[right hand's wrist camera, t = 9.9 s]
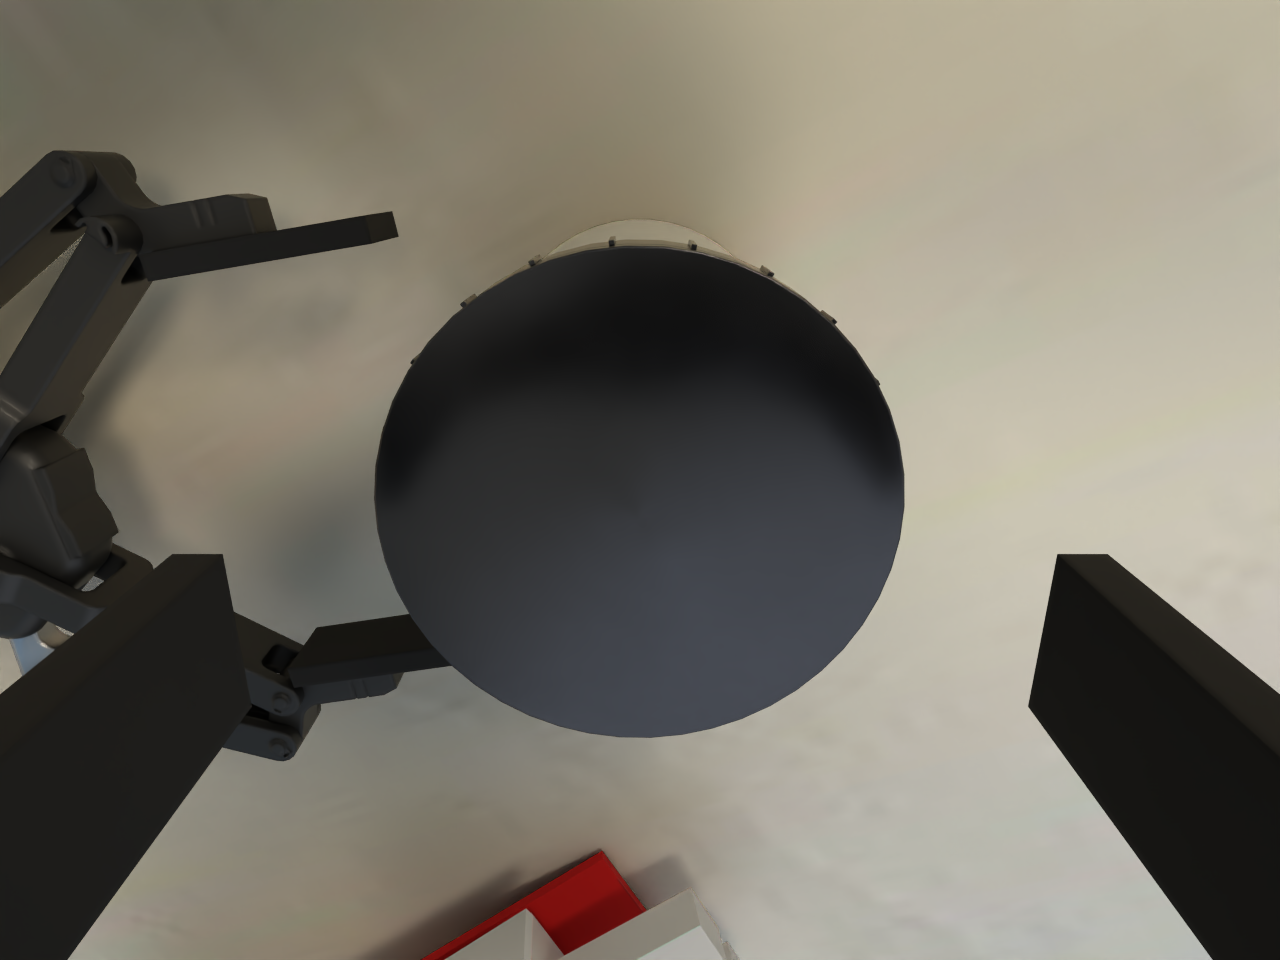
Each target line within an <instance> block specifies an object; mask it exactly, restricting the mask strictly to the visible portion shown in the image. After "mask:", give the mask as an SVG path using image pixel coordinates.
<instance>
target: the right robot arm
mask: <svg viewBox="0 0 1280 960" xmlns="http://www.w3.org/2000/svg"><path fill="white" fill-rule="evenodd" d="M251 707H252V705H251V700H250V695H249V689H248V684H247V679H246V674H245V668H244V663H243V658H242V653H241V648H240V642H239V637H238V632H237V627H236V622H235V616H234V611H233V606H232V601H231V596H230V590H229V585H228V580H227V575H226V570H225V564H224V559H223V554H172V555H171V556H170V557H168V558H167V559H166V560H165V561H163V562H162V563H161V564H160V565H159V566H157V567H156V568H155V569H154V570H152V571H151V572H150V573H149V574H148V575H146V576H145V577H144V578H143V579H141V580H140V581H139V582H138V583H136V584H135V585H134V586H133V587H132V588H130V589H129V590H128V591H127V592H125V593H124V594H123V595H122V596H120V597H119V598H118V599H117V600H116V601H114V602H113V603H112V604H111V605H109V606H108V607H107V608H106V609H105V610H103V611H102V612H101V613H100V614H98V615H97V616H96V617H95V618H93V619H92V620H91V621H90V622H89V623H87V624H86V625H85V626H84V627H82V628H81V629H80V630H79V631H77V632H76V633H75V634H74V635H73V636H71V637H70V638H69V639H68V640H66V641H65V642H64V643H63V644H62V645H60V646H59V647H58V648H57V649H55V650H54V651H53V652H52V653H50V654H49V655H48V656H47V657H46V658H44V659H43V660H42V661H41V662H39V663H38V664H37V665H36V666H34V667H33V668H32V669H31V670H30V671H28V672H27V673H26V674H25V675H23V676H22V677H21V678H20V679H19V680H17V681H16V682H15V683H14V684H12V685H11V686H10V687H9V688H7V689H6V690H5V691H4V692H3V693H1V694H0V960H67V959H68V958H69V957H70V955H71V954H72V953H73V951H74V950H75V949H76V947H77V946H78V944H79V943H80V942H81V940H82V939H83V938H84V936H85V935H86V933H87V932H88V931H89V929H90V928H91V927H92V925H93V924H94V922H95V921H96V920H97V918H98V917H99V916H100V914H101V913H102V911H103V910H104V909H105V907H106V906H107V905H108V903H109V902H110V900H111V899H112V898H113V896H114V895H115V894H116V892H117V891H118V889H119V888H120V887H121V885H122V884H123V883H124V881H125V880H126V879H127V877H128V876H129V874H130V873H131V872H132V870H133V869H134V868H135V866H136V865H137V863H138V862H139V861H140V859H141V858H142V857H143V855H144V854H145V852H146V851H147V850H148V848H149V847H150V846H151V844H152V843H153V841H154V840H155V839H156V837H157V836H158V835H159V833H160V832H161V830H162V829H163V828H164V826H165V825H166V824H167V822H168V821H169V819H170V818H171V817H172V815H173V814H174V813H175V811H176V810H177V809H178V807H179V806H180V804H181V803H182V802H183V800H184V799H185V798H186V796H187V795H188V793H189V792H190V791H191V789H192V788H193V787H194V785H195V784H196V782H197V781H198V780H199V778H200V777H201V776H202V774H203V773H204V771H205V770H206V769H207V767H208V766H209V765H210V763H211V762H212V760H213V759H214V758H215V756H216V755H217V754H218V752H219V751H220V749H221V748H222V747H223V745H224V744H225V743H226V741H227V740H228V738H229V737H230V736H231V734H232V733H233V732H234V730H235V729H236V728H237V726H238V725H239V723H240V722H241V721H242V719H243V718H244V717H245V715H246V714H247V712H248V711H249V710H250V708H251ZM1028 707H1029V708H1030V710H1031V711H1032V712H1033V714H1034V715H1035V717H1036V718H1037V719H1038V721H1039V722H1040V723H1041V725H1042V726H1043V728H1044V729H1045V730H1046V732H1047V733H1048V734H1049V736H1050V737H1051V739H1052V740H1053V741H1054V743H1055V744H1056V745H1057V747H1058V748H1059V749H1060V751H1061V752H1062V754H1063V755H1064V756H1065V758H1066V759H1067V760H1068V762H1069V763H1070V765H1071V766H1072V767H1073V769H1074V770H1075V771H1076V773H1077V774H1078V776H1079V777H1080V778H1081V780H1082V781H1083V782H1084V784H1085V785H1086V787H1087V788H1088V789H1089V791H1090V792H1091V793H1092V795H1093V796H1094V798H1095V799H1096V800H1097V802H1098V803H1099V804H1100V806H1101V807H1102V809H1103V810H1104V811H1105V813H1106V814H1107V815H1108V817H1109V818H1110V819H1111V821H1112V822H1113V824H1114V825H1115V826H1116V828H1117V829H1118V830H1119V832H1120V833H1121V835H1122V836H1123V837H1124V839H1125V840H1126V841H1127V843H1128V844H1129V846H1130V847H1131V848H1132V850H1133V851H1134V852H1135V854H1136V855H1137V857H1138V858H1139V859H1140V861H1141V862H1142V863H1143V865H1144V866H1145V868H1146V869H1147V870H1148V872H1149V873H1150V874H1151V876H1152V877H1153V879H1154V880H1155V881H1156V883H1157V884H1158V885H1159V887H1160V888H1161V889H1162V891H1163V892H1164V894H1165V895H1166V896H1167V898H1168V899H1169V900H1170V902H1171V903H1172V905H1173V906H1174V907H1175V909H1176V910H1177V911H1178V913H1179V914H1180V916H1181V917H1182V918H1183V920H1184V921H1185V922H1186V924H1187V925H1188V927H1189V928H1190V929H1191V931H1192V932H1193V933H1194V935H1195V936H1196V938H1197V939H1198V940H1199V942H1200V943H1201V944H1202V946H1203V947H1204V949H1205V950H1206V951H1207V953H1208V954H1209V955H1210V957H1211V958H1212V959H1213V960H1280V694H1279V693H1277V692H1276V691H1275V690H1274V689H1273V688H1271V687H1270V686H1269V685H1268V684H1266V683H1265V682H1264V681H1263V680H1261V679H1260V678H1259V677H1258V676H1257V675H1255V674H1254V673H1253V672H1252V671H1250V670H1249V669H1248V668H1247V667H1246V666H1244V665H1243V664H1242V663H1241V662H1239V661H1238V660H1237V659H1236V658H1234V657H1233V656H1232V655H1231V654H1230V653H1228V652H1227V651H1226V650H1225V649H1223V648H1222V647H1221V646H1220V645H1218V644H1217V643H1216V642H1215V641H1214V640H1212V639H1211V638H1210V637H1209V636H1207V635H1206V634H1205V633H1204V632H1203V631H1201V630H1200V629H1199V628H1198V627H1196V626H1195V625H1194V624H1193V623H1191V622H1190V621H1189V620H1188V619H1187V618H1185V617H1184V616H1183V615H1182V614H1180V613H1179V612H1178V611H1177V610H1175V609H1174V608H1173V607H1172V606H1171V605H1169V604H1168V603H1167V602H1166V601H1164V600H1163V599H1162V598H1161V597H1160V596H1158V595H1157V594H1156V593H1155V592H1153V591H1152V590H1151V589H1150V588H1148V587H1147V586H1146V585H1145V584H1144V583H1142V582H1141V581H1140V580H1139V579H1137V578H1136V577H1135V576H1134V575H1132V574H1131V573H1130V572H1129V571H1128V570H1126V569H1125V568H1124V567H1123V566H1121V565H1120V564H1119V563H1118V562H1117V561H1115V560H1114V559H1113V558H1112V557H1110V556H1109V555H1108V554H1057V559H1056V564H1055V570H1054V575H1053V580H1052V585H1051V590H1050V596H1049V601H1048V606H1047V611H1046V616H1045V622H1044V627H1043V632H1042V637H1041V642H1040V648H1039V653H1038V658H1037V663H1036V668H1035V674H1034V679H1033V684H1032V689H1031V695H1030V700H1029V705H1028Z"/></svg>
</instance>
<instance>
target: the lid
mask: <svg viewBox="0 0 1280 960" xmlns="http://www.w3.org/2000/svg"><path fill="white" fill-rule="evenodd" d="M773 275H774V273H773V272H772V271H770V270H769V269H768V268H766V267H764V266H763V265H762V266H761V268H760V269H759V268H757V267H755V266H752V265H750V264H748V263H746V262H744V261H742V260H739V259H737V258H735V257H733V256H731V255H727V254H724V253H720V252H717V251H714V250H710V249H707V248H704V247H700V246H697V244H696V243H695V242H694V241H693V240H689V241H688V244H684V243H678V242H671V241H665V240H631V239H626V240H617V241H616V236H611V237H610V239H609V241H608V242H600V243H592V244H588V245H584V246H580V247H576V248H572V249H568V250H565V251H561V252H557V253H554V254H552V255H550V256H547V257H545V258H542V259H541V256H540V255H537V256H535V257H534V258H533V259H531V260H530V261H529V264H528V265H525V266H524V267H522V268H520V269H518V270H517V271H515V272H513V273H512V274H510V275H508V276H506V277H505V278H503V279H501V280H500V281H498V282H496V283H495V284H493V285H492V286H491V287H489V288H488V289H487V290H485V291H484V292H483V293H481V294H480V295H479V296H478V297H477V296H476V295H475V294H473V295H472V296H470V297H469V298H468V299H466V300H465V301H464V302H462V303H461V304H460V305H461V306H462V307H463V308H462V309H461V310H460V311H459V312H457V313H456V314H455V315H454V316H453V317H452V318H451V319H450V320H449V321H448V322H447V323H446V324H445V325H444V326H443V327H442V328H441V329H440V330H439V331H438V332H437V333H436V334H435V336H434V337H433V338H432V339H431V340H430V341H429V342H428V343H427V345H426V346H425V347H424V349H423V350H422V352H421V353H420V354H419V355H417V356H416V357H415V358H414V359H413V360H412V361H411V364H412V366H411V367H410V369H409V370H408V372H407V374H406V376H405V378H404V380H403V382H402V384H401V385H400V387H399V389H398V391H397V393H396V395H395V397H394V399H393V401H392V404H391V407H390V410H389V413H388V416H387V419H386V422H385V425H384V427H383V430H382V434H381V439H380V444H379V450H378V455H377V460H376V466H375V491H374V501H375V511H376V521H377V530H378V534H379V539H380V543H381V547H382V551H383V555H384V559H385V562H386V565H387V567H388V570H389V573H390V575H391V578H392V580H393V583H394V585H395V588H396V590H397V592H398V594H399V596H400V598H401V599H402V601H403V603H404V605H405V607H406V608H407V610H408V612H409V614H410V616H411V617H412V619H413V620H414V622H415V623H416V624H417V626H418V627H419V628H420V630H421V631H422V632H423V634H424V635H425V636H426V638H427V639H428V641H429V642H430V643H431V644H432V645H433V646H434V647H435V648H436V650H437V651H438V652H439V653H440V654H441V655H442V656H443V657H444V658H445V659H446V660H447V661H448V662H449V663H450V664H451V665H452V666H453V667H454V668H455V669H457V670H458V671H459V672H460V673H461V674H463V675H464V676H465V677H466V678H467V679H469V680H470V681H471V682H472V683H474V684H475V685H476V686H478V687H479V688H481V689H482V690H484V691H485V692H487V693H488V694H490V695H492V696H493V697H495V698H496V699H498V700H499V701H501V702H503V703H505V704H507V705H509V706H511V707H513V708H515V709H517V710H519V711H521V712H523V713H525V714H527V715H529V716H532V717H535V718H537V719H540V720H543V721H546V722H549V723H551V724H554V725H557V726H560V727H564V728H569V729H573V730H577V731H581V732H586V733H590V734H598V735H607V736H615V737H644V738H652V737H663V736H673V735H683V734H688V733H692V732H697V731H702V730H707V729H712V728H715V727H718V726H721V725H724V724H727V723H730V722H734V721H737V720H740V719H743V718H745V717H747V716H749V715H751V714H754V713H756V712H758V711H760V710H762V709H765V708H767V707H769V706H771V705H773V704H774V703H776V702H778V701H779V700H781V699H783V698H784V697H786V696H788V695H789V694H791V693H793V692H794V691H796V690H797V689H799V688H800V687H801V686H803V685H804V684H805V683H806V682H808V681H809V680H810V679H812V678H813V677H814V676H815V675H817V674H818V673H819V672H821V671H822V670H823V669H824V668H825V667H826V666H827V665H828V664H829V663H830V662H831V661H832V660H833V659H834V658H835V657H836V656H837V655H838V654H839V653H840V652H841V651H842V650H843V649H844V648H845V647H846V645H847V644H848V643H849V641H850V640H851V639H852V638H853V636H854V635H855V634H856V633H857V631H858V630H859V629H860V628H861V626H862V625H863V623H864V622H865V620H866V618H867V617H868V615H869V613H870V612H871V610H872V608H873V607H874V605H875V603H876V602H877V600H878V598H879V596H880V594H881V592H882V589H883V587H884V585H885V582H886V580H887V578H888V576H889V573H890V571H891V568H892V565H893V561H894V558H895V554H896V551H897V547H898V544H899V540H900V535H901V527H902V520H903V513H904V469H903V462H902V456H901V449H900V442H899V438H898V435H897V432H896V428H895V425H894V422H893V418H892V415H891V412H890V409H889V407H888V404H887V402H886V400H885V398H884V396H883V394H882V392H881V389H880V387H879V385H880V383H879V381H878V380H877V379H876V378H875V377H874V376H873V374H872V373H871V371H870V369H869V368H868V366H867V365H866V363H865V362H864V360H863V359H862V357H861V356H860V354H859V353H858V351H857V350H856V348H855V347H854V346H853V345H852V344H851V343H850V342H849V340H848V339H847V338H846V337H845V336H844V335H843V334H842V332H841V331H840V330H839V329H838V328H837V327H836V326H835V324H836V323H837V321H836V320H835V319H834V318H832V317H831V316H830V315H828V314H827V313H826V312H824V311H823V310H822V311H821V312H820V311H819V310H818V309H816V308H815V307H814V306H813V305H812V304H810V303H809V302H808V301H807V300H806V299H805V298H803V297H802V296H801V295H799V294H798V293H797V292H795V291H794V290H793V289H791V288H790V287H788V286H787V285H785V284H784V283H782V282H780V281H779V280H777V279H776V278H774V277H773Z"/></svg>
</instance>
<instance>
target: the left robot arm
mask: <svg viewBox="0 0 1280 960" xmlns="http://www.w3.org/2000/svg"><path fill="white" fill-rule="evenodd" d="M136 178H137V177H136V173H135V169H134V167H133V165H132V164H131V162H130V161H129V160H128V159H127V158H125V157H124V156H123V155H120V154H118V153H114V152H90V151H64V150H60V151H52V152H50V153H48V154H47V155H45V156H44V157H43V158H42V159H41V160H40V161H39V162H38V163H37V164H36V165H35V166H34V167H33V168H32V169H30V170H29V171H28V172H27V173H26V174H25V175H24V176H23V177H22V178H21V179H20V180H19V181H18V182H17V183H16V184H14V185H13V186H12V187H11V188H10V189H9V190H8V191H7V192H6V193H5V194H4V195H3V196H2V197H1V198H0V308H2V307H3V306H4V305H5V304H6V303H7V302H8V301H9V300H10V299H12V298H13V297H14V296H15V295H16V294H17V293H18V292H19V291H21V290H22V289H23V288H24V287H25V286H26V285H27V284H28V283H29V282H31V281H32V280H33V279H34V278H35V277H36V276H37V275H38V274H39V273H41V272H42V271H43V270H44V269H45V268H46V267H47V266H48V265H49V264H51V263H52V262H53V261H54V260H55V259H56V258H57V257H58V256H60V255H61V254H62V253H63V252H64V251H65V250H66V249H67V248H68V247H70V246H71V245H72V244H73V243H74V242H75V241H76V240H77V239H78V238H80V237H81V236H82V235H83V234H84V233H85V235H84V236H83V238H82V240H81V241H80V243H79V245H78V246H77V248H76V250H75V251H74V253H73V255H72V256H71V258H70V260H69V261H68V263H67V265H66V266H65V268H64V270H63V271H62V273H61V275H60V276H59V278H58V280H57V281H56V283H55V285H54V286H53V288H52V290H51V291H50V293H49V295H48V296H47V298H46V300H45V301H44V303H43V305H42V306H41V308H40V310H39V311H38V313H37V315H36V316H35V318H34V320H33V321H32V323H31V325H30V326H29V328H28V330H27V331H26V333H25V335H24V336H23V338H22V340H21V341H20V343H19V345H18V346H17V348H16V350H15V351H14V353H13V355H12V356H11V358H10V360H9V361H8V363H7V365H6V366H5V368H4V370H3V371H2V373H1V375H0V637H1V638H6V639H9V640H10V643H11V646H12V648H13V651H14V654H15V657H16V660H17V662H18V665H19V668H20V671H21V674H22V676H23V675H25V674H26V673H27V672H28V671H30V670H31V669H32V668H33V667H34V666H36V665H37V664H38V663H39V662H41V661H42V660H43V659H44V658H46V657H47V656H48V655H49V654H50V653H52V652H53V651H54V650H55V649H57V648H58V647H59V646H60V645H62V644H63V643H64V642H65V641H66V640H68V639H69V638H70V637H71V636H69V635H67V634H64V633H63V632H61V631H60V630H59V629H58V628H57V627H56V625H57V626H59V627H61V628H63V629H65V630H68V631H70V632H72V633H74V634H75V633H76V632H77V631H79V630H80V629H81V628H82V627H84V626H85V625H86V624H87V623H89V622H90V621H91V620H92V619H93V618H95V617H96V616H97V615H98V614H100V613H101V612H102V611H103V610H105V609H106V608H107V607H108V606H109V605H111V604H112V603H113V602H114V601H116V600H117V599H118V598H119V597H120V596H122V595H123V594H124V593H125V592H127V591H128V590H129V589H130V588H132V587H133V586H134V585H135V584H136V583H138V582H139V581H140V580H141V579H143V578H144V577H145V576H146V575H148V574H149V573H150V572H151V571H152V570H153V565H152V564H151V563H150V562H149V561H148V560H146V559H144V558H142V557H140V556H138V555H136V554H134V553H132V552H130V551H128V550H126V549H124V548H122V547H120V546H118V545H115V544H113V543H112V537H113V536H114V535H116V534H117V533H118V532H119V531H118V529H117V526H116V524H115V521H114V519H113V517H112V514H111V512H110V511H109V509H108V508H107V506H106V505H105V504H104V502H103V501H102V499H101V498H100V497H99V495H98V494H97V492H96V489H95V481H94V474H93V468H92V466H91V463H90V461H89V459H88V456H87V454H86V451H85V449H84V448H81V449H75V447H74V446H73V445H72V444H71V443H70V442H69V441H68V440H67V439H66V438H65V437H63V436H62V435H61V434H62V433H63V431H64V430H65V428H66V427H67V425H68V424H69V422H70V420H71V419H72V417H73V416H74V414H75V413H76V411H77V410H78V408H79V406H80V405H81V403H82V402H83V400H84V395H83V394H82V391H83V389H84V388H85V386H86V384H87V383H88V381H89V380H90V378H91V377H92V375H93V373H94V372H95V370H96V369H97V367H98V366H99V364H100V362H101V361H102V359H103V358H104V356H105V355H106V353H107V352H108V350H109V348H110V347H111V345H112V344H113V342H114V341H115V339H116V337H117V336H118V334H119V333H120V331H121V330H122V328H123V326H124V325H125V323H126V322H127V320H128V319H129V317H130V316H131V314H132V312H133V311H134V309H135V308H136V306H137V305H138V303H139V301H140V300H141V298H142V297H143V295H144V294H145V292H146V290H147V289H148V287H149V286H150V284H151V283H152V281H155V280H161V279H167V278H173V277H178V276H184V275H190V274H196V273H202V272H208V271H214V270H219V269H225V268H231V267H237V266H243V265H249V264H255V263H261V262H266V261H272V260H278V259H284V258H290V257H296V256H302V255H308V254H313V253H319V252H325V251H331V250H337V249H343V248H349V247H355V246H360V245H366V244H372V243H376V242H380V241H384V240H387V239H391V238H395V237H399V236H398V232H397V229H396V225H395V221H394V217H393V213H392V211H391V212H384V213H378V214H371V215H365V216H359V217H353V218H347V219H341V220H336V221H330V222H324V223H318V224H312V225H307V226H301V227H295V228H289V229H283V230H278V231H277V229H276V226H275V223H274V219H273V216H272V213H271V209H270V206H269V203H268V199H267V198H266V197H262V196H257V195H253V194H230V195H222V196H216V197H210V198H205V199H199V200H194V201H188V202H182V203H176V204H170V205H165V206H160V205H158V204H156V203H154V202H152V201H151V200H150V199H148V198H147V197H146V195H145V194H144V193H143V192H142V191H141V189H140V188H139V186H138V185H137V184H136ZM93 576H95V577H98V578H100V579H102V580H104V582H103V583H101V584H100V585H99V586H98V587H96V588H95V589H94V590H91V591H81V590H82V589H83V587H84V586H85V585H86V584H87V583H88V582H89V580H90V579H91V578H92V577H93ZM234 616H235V622H236V627H237V632H238V637H239V642H240V648H241V653H242V658H243V663H244V668H245V674H246V679H247V684H248V689H249V695H250V700H251V705H252V707H251V708H250V710H249V711H248V712H247V714H246V715H245V717H244V718H243V719H242V721H241V722H240V723H239V725H238V726H237V728H236V729H235V730H234V732H233V733H232V734H231V736H230V737H229V738H228V740H227V741H226V743H225V744H224V745H223V748H227V749H231V750H235V751H239V752H243V753H247V754H252V755H256V756H260V757H264V758H268V759H272V760H276V761H286V760H290V759H291V758H292V757H294V755H295V754H296V752H297V750H298V749H299V747H300V745H301V744H302V742H303V740H304V739H305V737H306V735H307V734H308V732H309V730H310V728H311V727H312V725H313V723H314V722H315V720H316V718H317V717H318V715H319V713H320V711H321V704H323V703H330V702H337V701H344V700H352V699H356V698H358V699H359V698H366V697H368V696H369V697H373V696H380V695H385V694H387V693H389V692H390V691H392V690H394V689H396V688H397V686H398V684H399V682H400V680H401V677H402V675H403V673H404V672H410V671H417V670H424V669H431V668H438V667H446V666H452V665H451V664H450V663H449V662H448V661H447V660H446V659H445V658H444V657H443V656H442V655H441V654H440V653H439V652H438V651H437V650H436V648H435V647H434V646H433V645H432V644H431V643H430V642H429V641H428V639H427V638H426V636H425V635H424V634H423V632H422V631H421V630H420V628H419V627H418V626H417V624H416V623H415V622H414V620H413V619H412V617H411V616H410V614H407V615H400V616H393V617H386V618H379V619H372V620H365V621H358V622H351V623H345V624H338V625H331V626H324V627H317V628H316V629H315V631H314V632H313V633H312V635H311V636H310V638H309V639H308V640H307V642H306V643H305V645H301V644H299V643H297V642H295V641H293V640H291V639H289V638H287V637H285V636H283V635H281V634H279V633H277V632H275V631H272V630H270V629H268V628H266V627H264V626H262V625H260V624H258V623H256V622H254V621H252V620H250V619H248V618H246V617H244V616H241V615H239V614H237V613H235V612H234ZM277 673H279V674H277Z"/></svg>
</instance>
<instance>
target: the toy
mask: <svg viewBox="0 0 1280 960" xmlns="http://www.w3.org/2000/svg"><path fill="white" fill-rule="evenodd" d="M421 960H740V959H739V958H738V956H737V955H736V953H735V952H734V950H733V949H732V947H731V946H730V944H729V943H728V941H727V942H725V943H723V944H722V941H721V937H720V933H719V929H718V927H717V925H716V924H715V922H714V921H713V919H712V918H711V916H710V915H709V913H708V912H707V910H706V909H705V907H704V906H703V904H702V903H701V901H700V900H699V898H698V897H697V895H696V894H695V892H694V891H693V889H692V888H691V887H690V888H688V889H686V890H684V891H683V892H681V893H679V894H677V895H675V896H673V897H671V898H670V899H668V900H666V901H664V902H662V903H660V904H659V905H657V906H655V907H653V908H651V909H649V910H646V909H645V908H644V906H643V905H642V904H641V902H640V901H639V900H638V898H637V897H636V896H635V894H634V893H633V892H632V890H631V889H630V888H629V886H628V885H627V884H626V882H625V881H624V880H623V878H622V877H621V876H620V874H619V873H618V871H617V870H616V869H615V867H614V866H613V865H612V863H611V862H610V861H609V859H608V858H607V857H606V855H605V854H604V853H603V851H601V852H599V853H597V854H596V855H594V856H592V857H591V858H589V859H587V860H586V861H584V862H582V863H581V864H579V865H578V866H576V867H574V868H573V869H571V870H569V871H568V872H566V873H564V874H563V875H561V876H559V877H558V878H556V879H554V880H553V881H551V882H549V883H548V884H546V885H544V886H543V887H541V888H539V889H538V890H536V891H534V892H533V893H531V894H529V895H528V896H526V897H524V898H523V899H521V900H519V901H518V902H516V903H514V904H513V905H511V906H509V907H508V908H506V909H504V910H503V911H501V912H499V913H498V914H496V915H494V916H493V917H491V918H489V919H488V920H486V921H484V922H483V923H481V924H479V925H478V926H476V927H474V928H473V929H471V930H469V931H468V932H466V933H464V934H463V935H461V936H459V937H458V938H456V939H454V940H453V941H451V942H449V943H448V944H446V945H444V946H443V947H441V948H439V949H438V950H436V951H434V952H433V953H431V954H429V955H428V956H426V957H424V958H423V959H421Z"/></svg>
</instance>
